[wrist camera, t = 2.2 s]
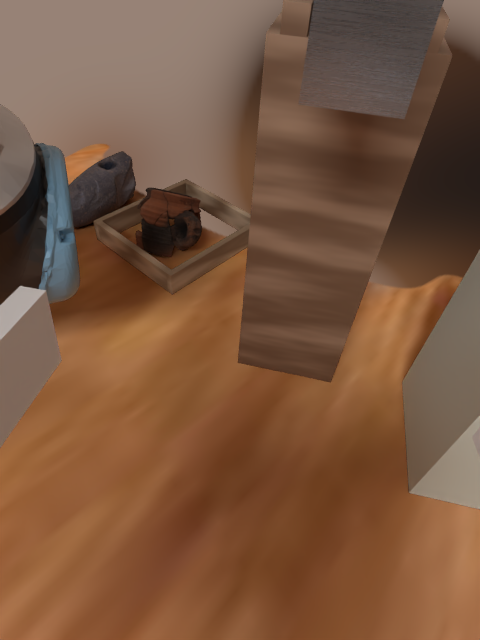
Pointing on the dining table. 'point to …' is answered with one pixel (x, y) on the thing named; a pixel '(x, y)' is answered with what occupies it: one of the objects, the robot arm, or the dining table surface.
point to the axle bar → (367, 54)
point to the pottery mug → (156, 222)
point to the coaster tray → (195, 266)
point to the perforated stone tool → (102, 189)
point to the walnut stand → (320, 204)
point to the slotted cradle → (447, 402)
